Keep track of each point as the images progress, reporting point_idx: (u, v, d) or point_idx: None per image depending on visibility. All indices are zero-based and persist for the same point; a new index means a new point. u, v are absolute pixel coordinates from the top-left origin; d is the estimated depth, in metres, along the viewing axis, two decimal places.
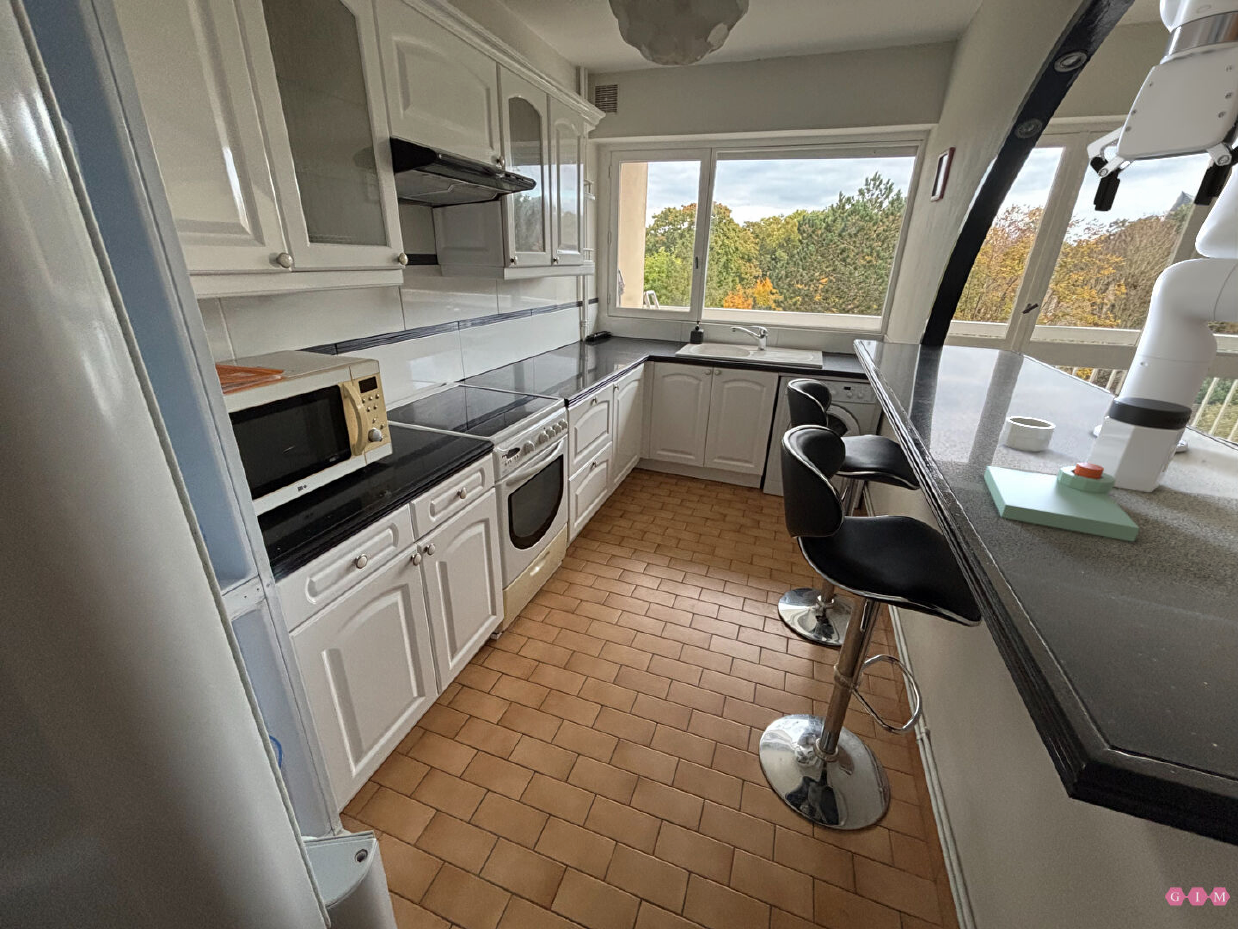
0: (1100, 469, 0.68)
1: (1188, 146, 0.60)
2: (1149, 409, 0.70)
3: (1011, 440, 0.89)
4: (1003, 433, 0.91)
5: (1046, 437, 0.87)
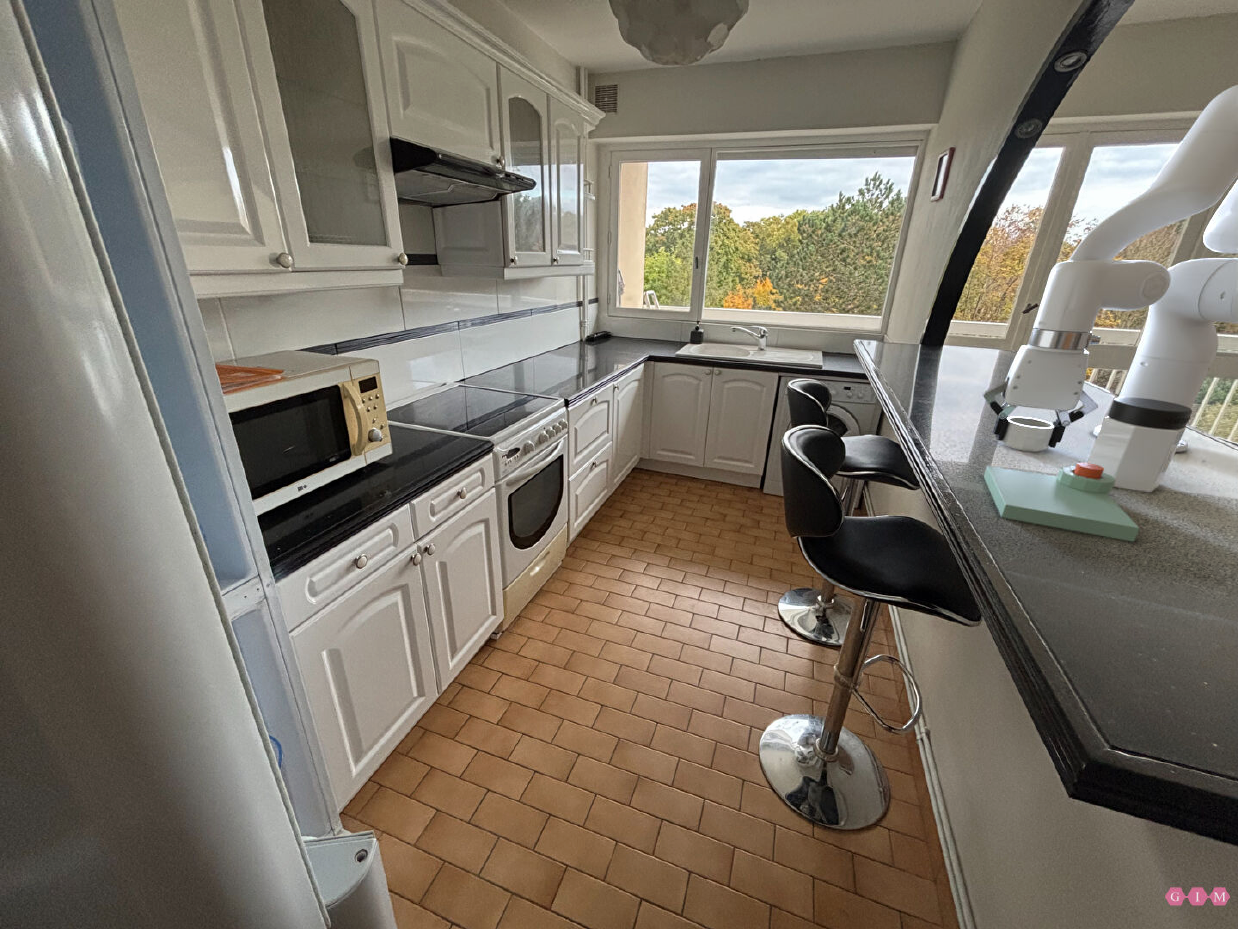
0: (1100, 469, 0.68)
1: (1055, 408, 0.85)
2: (1149, 409, 0.70)
3: (1011, 440, 0.89)
4: None
5: (1046, 437, 0.87)
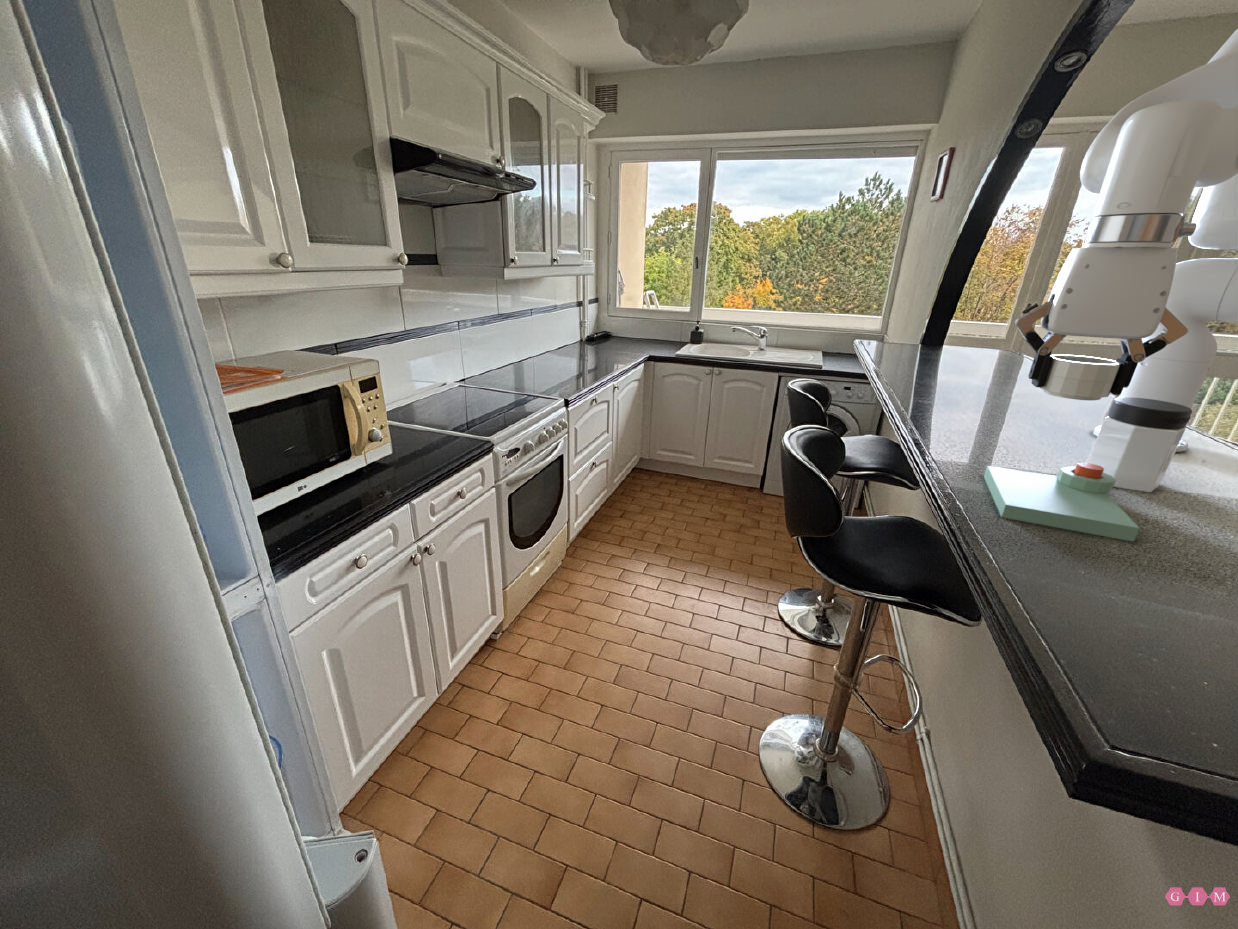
0: (1100, 469, 0.68)
1: (1124, 335, 0.59)
2: (1149, 409, 0.70)
3: (1057, 385, 0.63)
4: None
5: (1109, 378, 0.60)
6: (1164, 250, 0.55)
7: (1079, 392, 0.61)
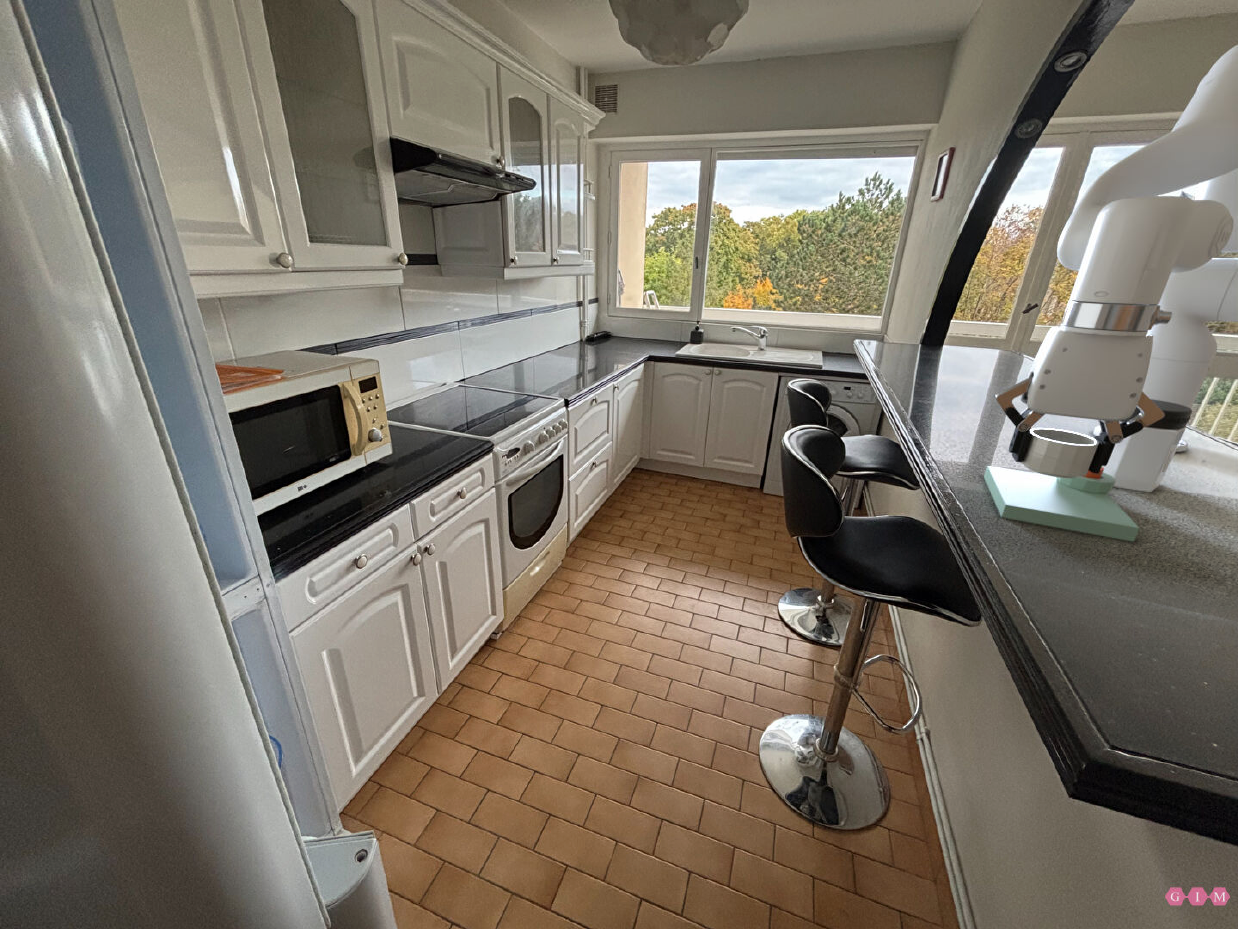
0: None
1: (1101, 417, 0.59)
2: None
3: (1036, 462, 0.63)
4: None
5: (1087, 458, 0.60)
6: (1140, 338, 0.55)
7: (1058, 471, 0.61)
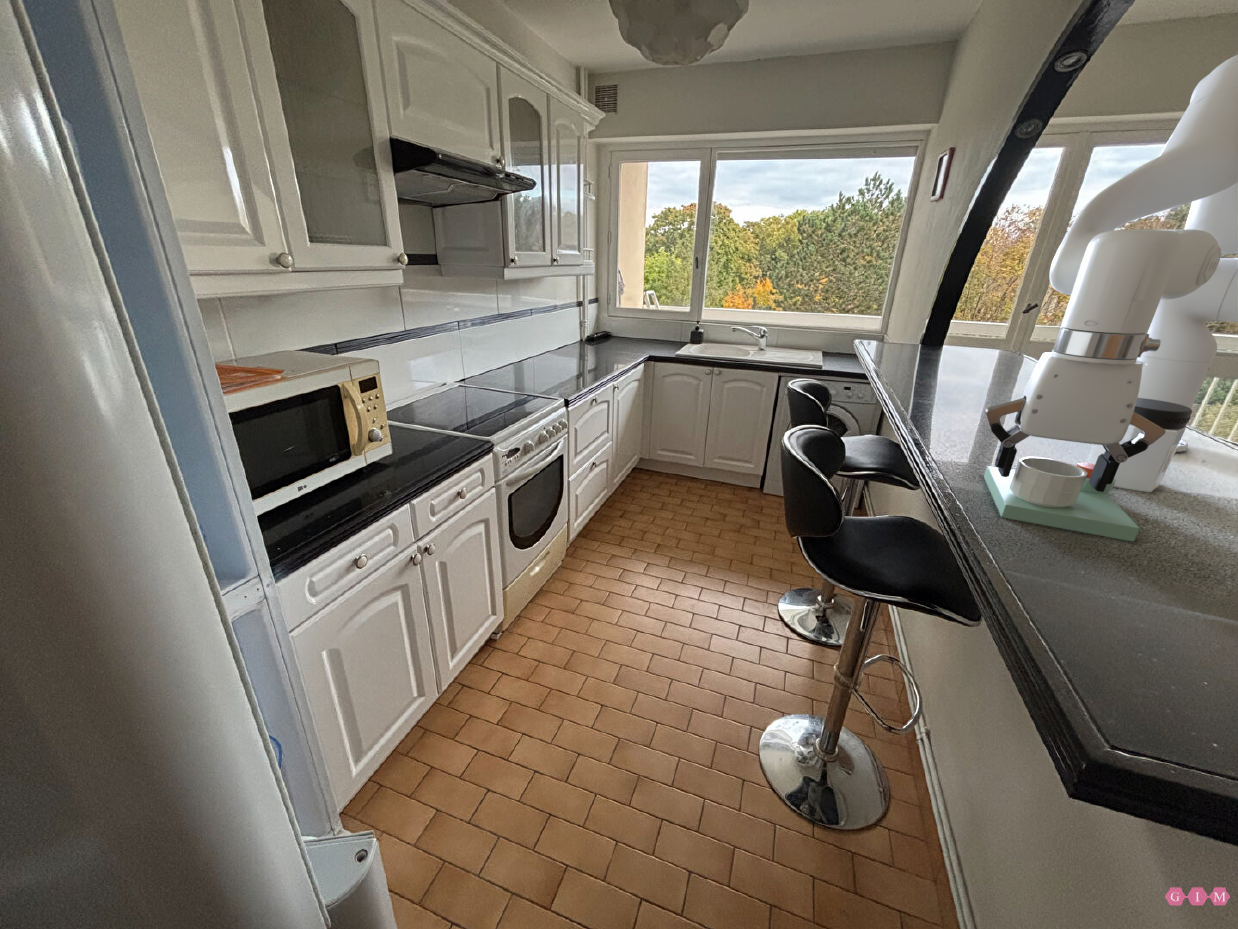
0: None
1: (1092, 441, 0.60)
2: (1149, 409, 0.70)
3: (1026, 492, 0.64)
4: (1014, 480, 0.66)
5: (1075, 489, 0.62)
6: (1129, 366, 0.56)
7: (1047, 501, 0.63)
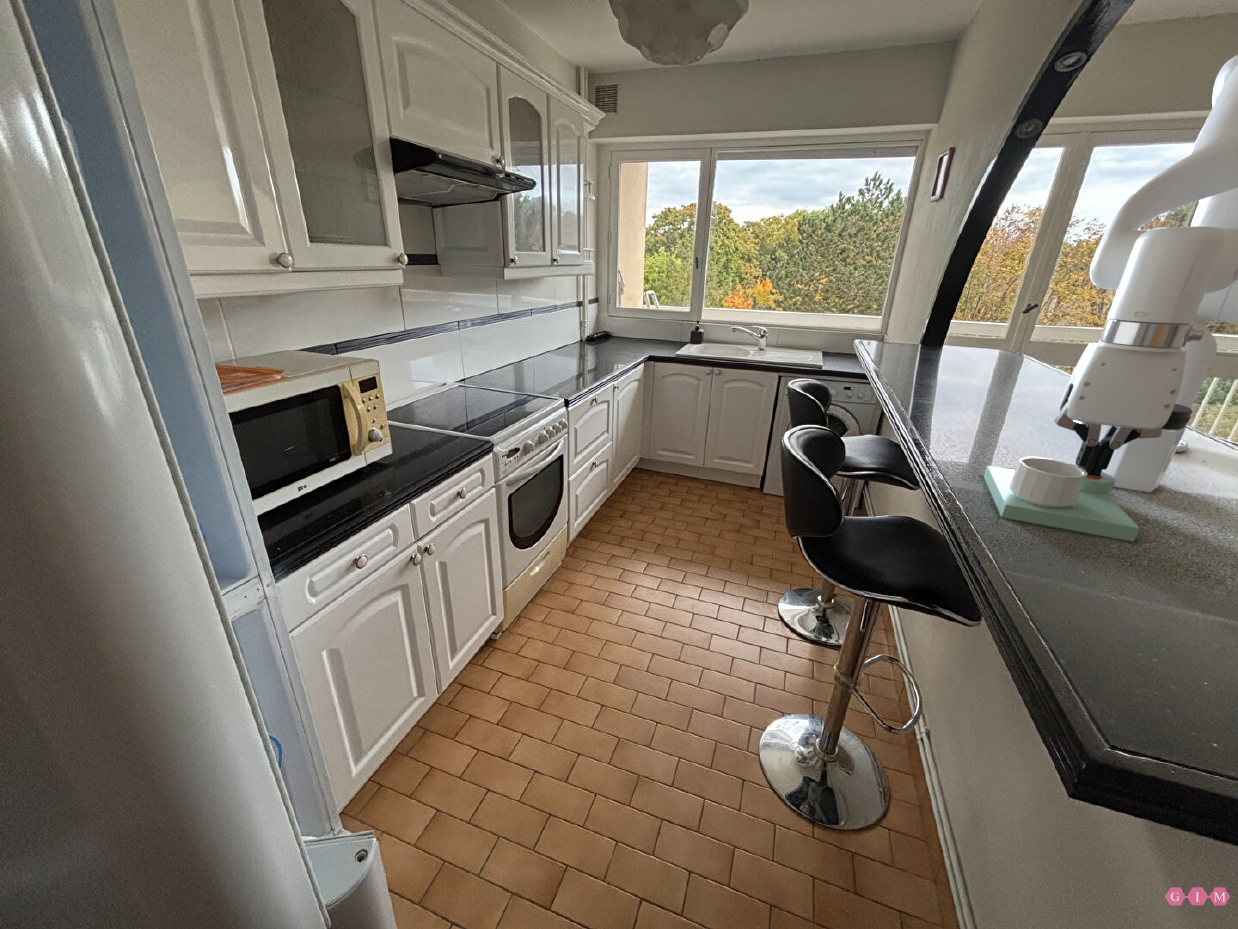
0: None
1: (1137, 426, 0.64)
2: None
3: (1026, 492, 0.64)
4: (1014, 480, 0.66)
5: (1075, 489, 0.62)
6: (1174, 354, 0.60)
7: (1047, 501, 0.63)
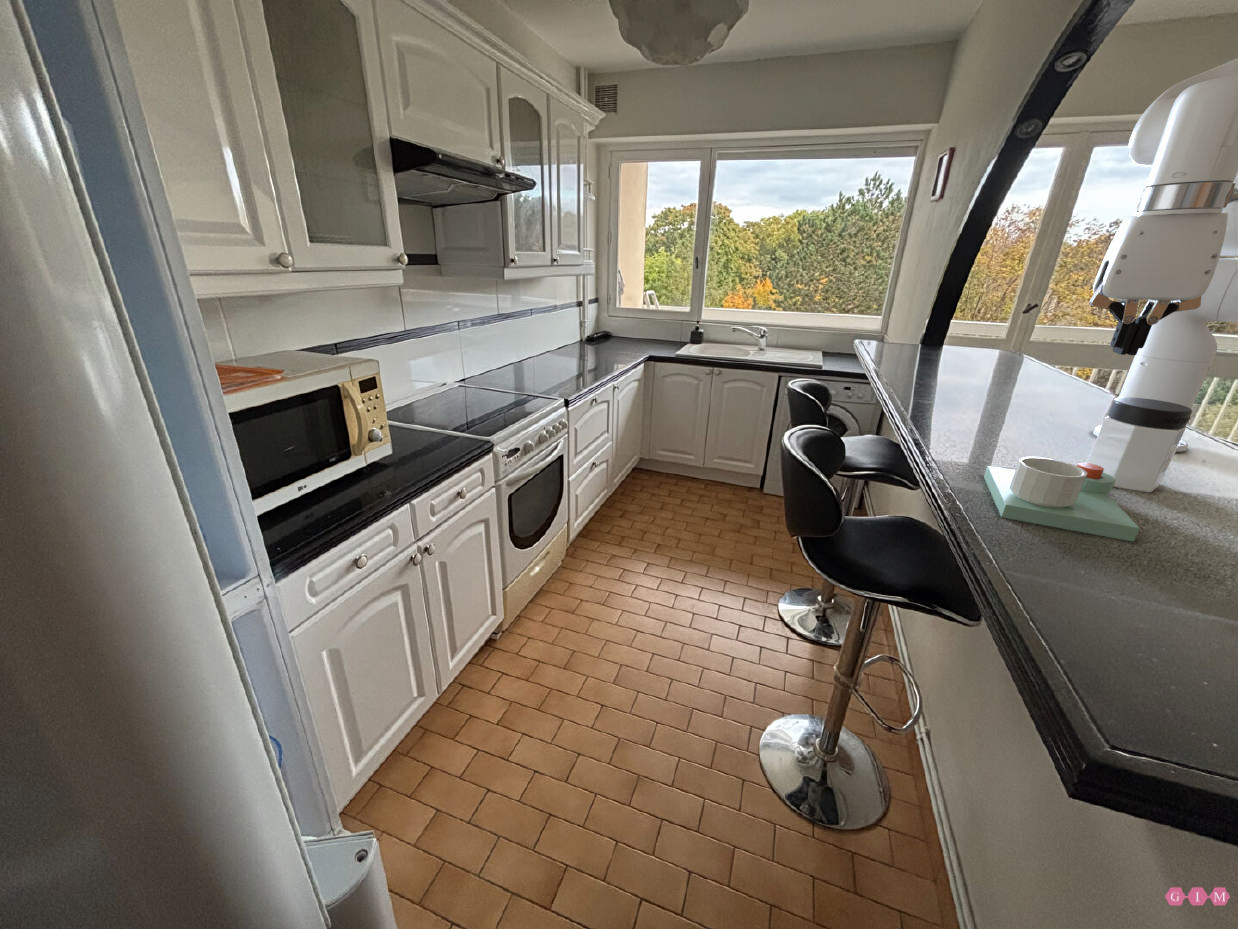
0: (1099, 469, 0.68)
1: (1175, 296, 0.63)
2: (1149, 409, 0.70)
3: (1026, 492, 0.64)
4: (1014, 480, 0.66)
5: (1075, 489, 0.62)
6: (1215, 215, 0.59)
7: (1047, 501, 0.63)
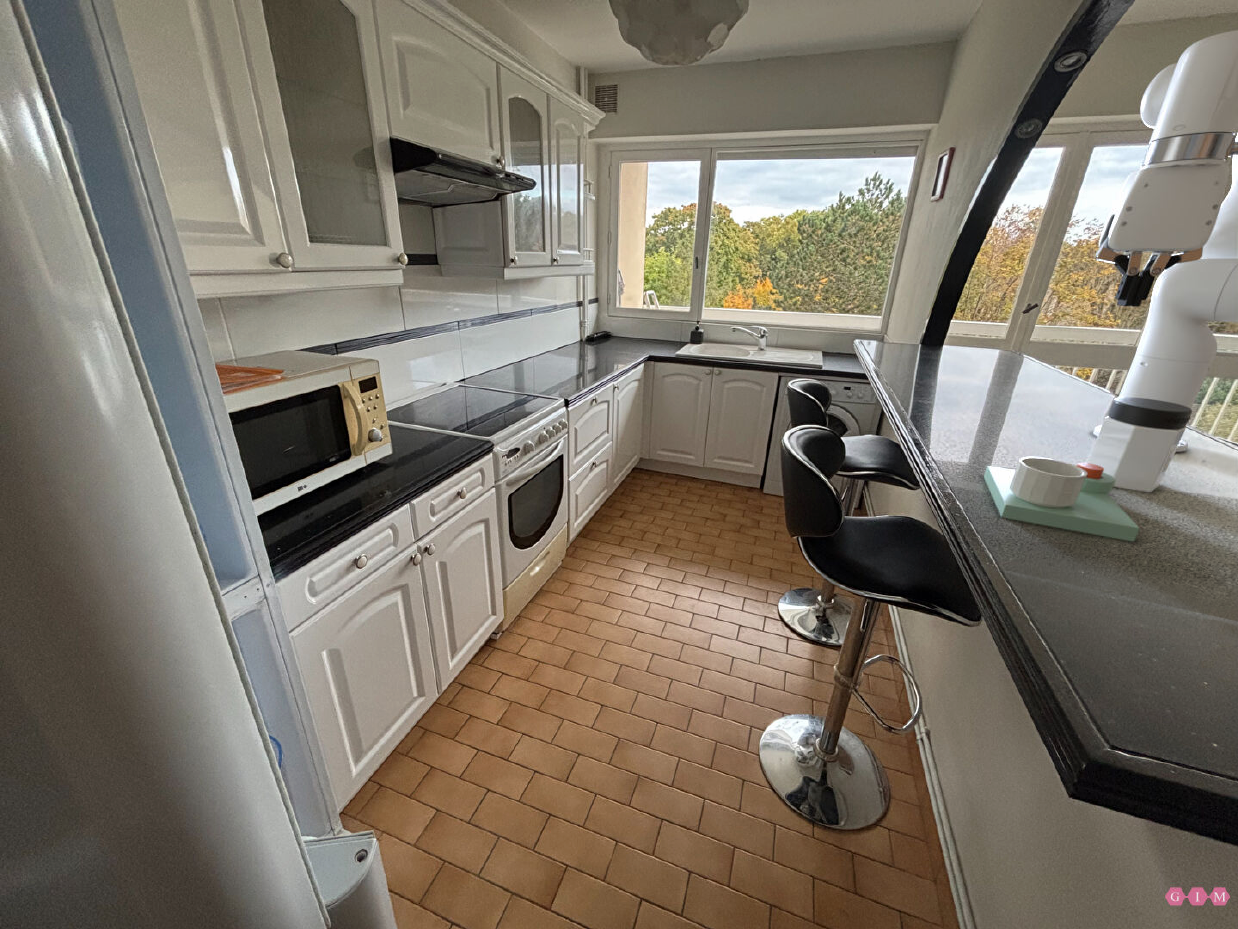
0: (1099, 469, 0.68)
1: (1178, 247, 0.66)
2: (1149, 409, 0.70)
3: (1026, 492, 0.64)
4: (1014, 480, 0.66)
5: (1075, 489, 0.62)
6: (1217, 167, 0.62)
7: (1047, 501, 0.63)
